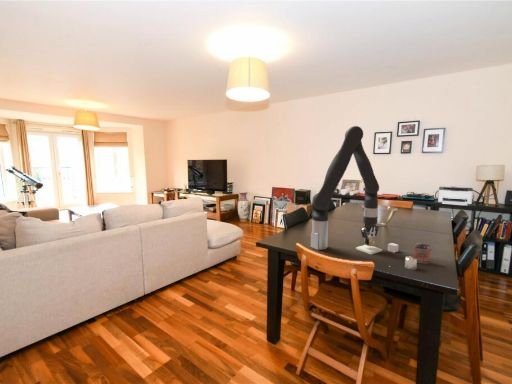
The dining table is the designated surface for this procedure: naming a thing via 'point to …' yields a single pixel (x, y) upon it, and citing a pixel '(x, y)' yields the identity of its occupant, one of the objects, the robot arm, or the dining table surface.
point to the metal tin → (410, 263)
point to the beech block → (370, 241)
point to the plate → (369, 249)
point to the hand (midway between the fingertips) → (369, 243)
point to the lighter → (422, 253)
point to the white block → (393, 247)
